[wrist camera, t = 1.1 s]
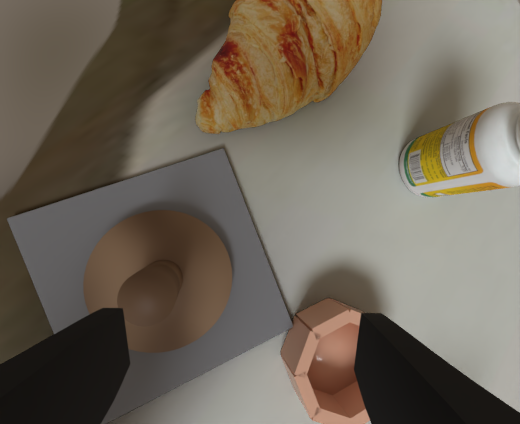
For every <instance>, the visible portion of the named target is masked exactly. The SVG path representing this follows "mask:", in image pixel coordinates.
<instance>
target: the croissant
mask: <svg viewBox="0 0 520 424" xmlns="http://www.w3.org/2000/svg"><path fill="white" fill-rule="evenodd" d="M381 7H382V0H236V1H235V2H234V4H233V6H232V8H231V9H230V12H229V18H230V19H231V23H230V26H229V30H228V35H227V38H226V41H225V43H224V44H223V46H222V47H221V49H220V50H219V52H218V53H217V55H216V56H215V58H214V59H213V62H212V73H211V76H210V78H209V80H208V81H209V85H210V89H209V90H206V91H205V92H204V93H203V94H202V95H201V96H200V98H199V99H198V100H197V103H198V108H197V113H196V118H195V120H196V124H197V126H199V128H200V129H201V130H202V132H205V133H211V134H219V133H220V132H221V131H222V132H231V131H234V130H238V129H242V128H249V127H257V126H261V125H263V124H265V123H268V122H273V121H278V120H280V119H282V118H284V117H288V116H290V115H292V114H293V113H295V111H297V110H298V109H300V108H302V107H304V106H306V105H307V104H309V103H310V102H311V101H313V102H320V101H322V100H324V99H326V98H327V97H329V96H330V95H331V94H332V93H333V92H334V91H335V90H336V88H337V87H338V85H339V84H341V83H342V82H343V80H344V79H345V78H346V77H347V76H348V74H349V73H350V72H351V71H352V69H353V68H354V67H355V65H356V64H357V63H358V61H359V59H360V58H361V56H362V54H363V53H364V51H365V50H366V48H367V47H368V45H369V43H370V41H371V39H372V37H373V35H374V32H375V29H376V27H377V25H378V22H379V19H380V16H381Z"/></svg>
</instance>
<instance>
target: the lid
mask: <svg viewBox="0 0 520 424" xmlns="http://www.w3.org/2000/svg"><path fill="white" fill-rule="evenodd" d="M231 287H232V267H231V262H230V258H229V255H228V252H227V250H226V248H225V246H224V244H223V242H222V241H221V239H220V238H219V236H218V235H217V234H216V233H215V232H214V231H213V230H212V229H211V228H210V227H209V226H208V225H206V224H205V223H204V222H202V221H201V220H199V219H197V218H195V217H193V216H191V215H188V214H185V213H182V212H177V211H171V210H154V211H148V212H143V213H140V214H136V215H134V216H131V217H129V218H127V219H125V220H123V221H122V222H120V223H118V224H117V225H115V226H114V227H113V228H111V229H110V230H109V231H108V232H107V233H106V234H105V235H104V236H103V237H102V238H101V240H100V241H99V242H98V243H97V245H96V246H95V248H94V250H93V251H92V253H91V255H90V257H89V260H88V262H87V265H86V269H85V273H84V281H83V291H84V298H85V303H86V306H87V309H88V312H89V314H91V313H93V312H95V311H97V310H99V309H101V308H123V312H124V320H125V327H126V335H127V342H128V349H130V350H134V351H138V352H146V353H161V352H168V351H172V350H176V349H179V348H182V347H184V346H186V345H189V344H190V343H192V342H194V341H196V340H197V339H199V338H200V337H201V336H203V335H204V334H205V333H206V332H207V331H208V330H209V329H211V328H212V326H213V325H214V324H215V323H216V322H217V320H218V319H219V317H220V316H221V314H222V313H223V311H224V309H225V307H226V305H227V302H228V299H229V296H230V292H231Z"/></svg>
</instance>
